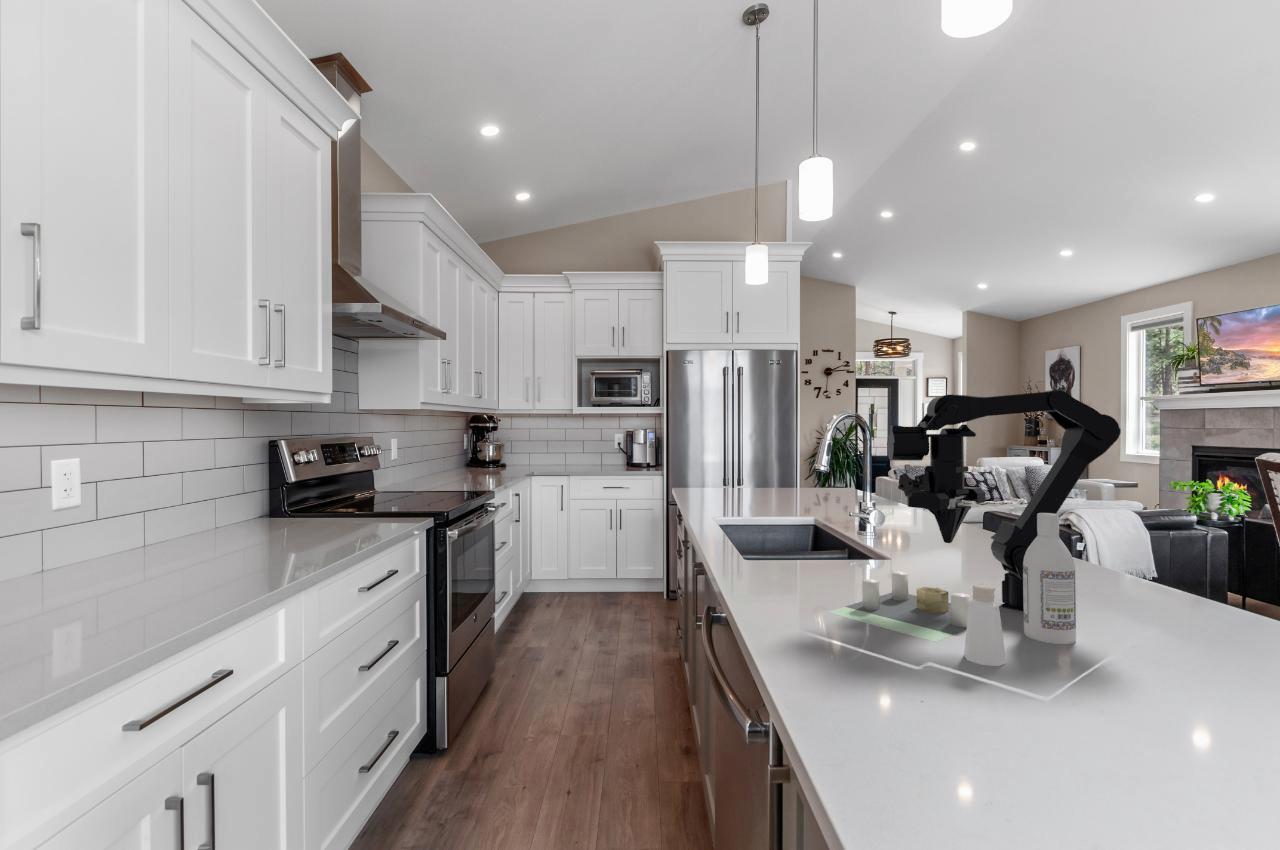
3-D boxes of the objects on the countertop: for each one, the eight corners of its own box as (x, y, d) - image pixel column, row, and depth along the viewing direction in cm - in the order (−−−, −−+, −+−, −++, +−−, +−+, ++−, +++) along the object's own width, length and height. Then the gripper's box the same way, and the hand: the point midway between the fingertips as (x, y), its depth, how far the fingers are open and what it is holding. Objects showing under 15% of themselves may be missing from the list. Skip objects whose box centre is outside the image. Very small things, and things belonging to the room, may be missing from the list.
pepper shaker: (1015, 667, 86) (1014, 589, 87) (981, 670, 86) (980, 591, 86) (987, 653, 92) (986, 580, 92) (955, 656, 91) (954, 581, 91)
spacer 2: (911, 599, 120) (911, 573, 120) (903, 601, 118) (902, 575, 118) (897, 595, 122) (896, 570, 122) (888, 598, 121) (888, 572, 121)
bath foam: (1086, 643, 96) (1085, 515, 96) (1055, 649, 94) (1053, 518, 94) (1044, 630, 102) (1042, 510, 103) (1013, 635, 100) (1012, 512, 100)
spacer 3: (974, 625, 104) (973, 595, 104) (965, 628, 102) (965, 598, 102) (956, 620, 106) (955, 592, 106) (947, 624, 104) (947, 594, 104)
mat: (1000, 616, 110) (1000, 614, 110) (935, 644, 96) (935, 641, 96) (895, 593, 126) (895, 591, 126) (827, 614, 112) (827, 611, 112)
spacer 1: (882, 608, 114) (882, 581, 114) (873, 611, 112) (873, 583, 112) (868, 604, 116) (868, 578, 116) (859, 607, 115) (858, 580, 115)
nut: (952, 609, 113) (951, 590, 113) (937, 614, 110) (937, 595, 110) (927, 604, 117) (927, 585, 117) (913, 609, 113) (912, 590, 113)
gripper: (930, 457, 129) (931, 532, 129) (880, 461, 118) (881, 542, 118) (986, 459, 120) (987, 539, 120) (938, 463, 109) (939, 551, 109)
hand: (947, 542), depth 117 cm, fingers closed
